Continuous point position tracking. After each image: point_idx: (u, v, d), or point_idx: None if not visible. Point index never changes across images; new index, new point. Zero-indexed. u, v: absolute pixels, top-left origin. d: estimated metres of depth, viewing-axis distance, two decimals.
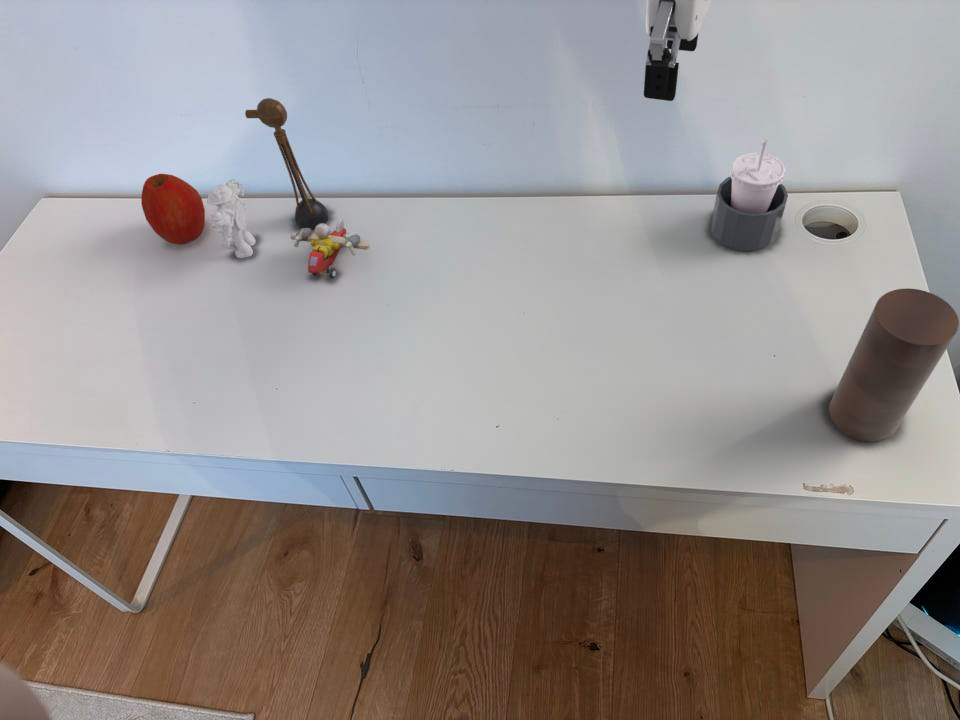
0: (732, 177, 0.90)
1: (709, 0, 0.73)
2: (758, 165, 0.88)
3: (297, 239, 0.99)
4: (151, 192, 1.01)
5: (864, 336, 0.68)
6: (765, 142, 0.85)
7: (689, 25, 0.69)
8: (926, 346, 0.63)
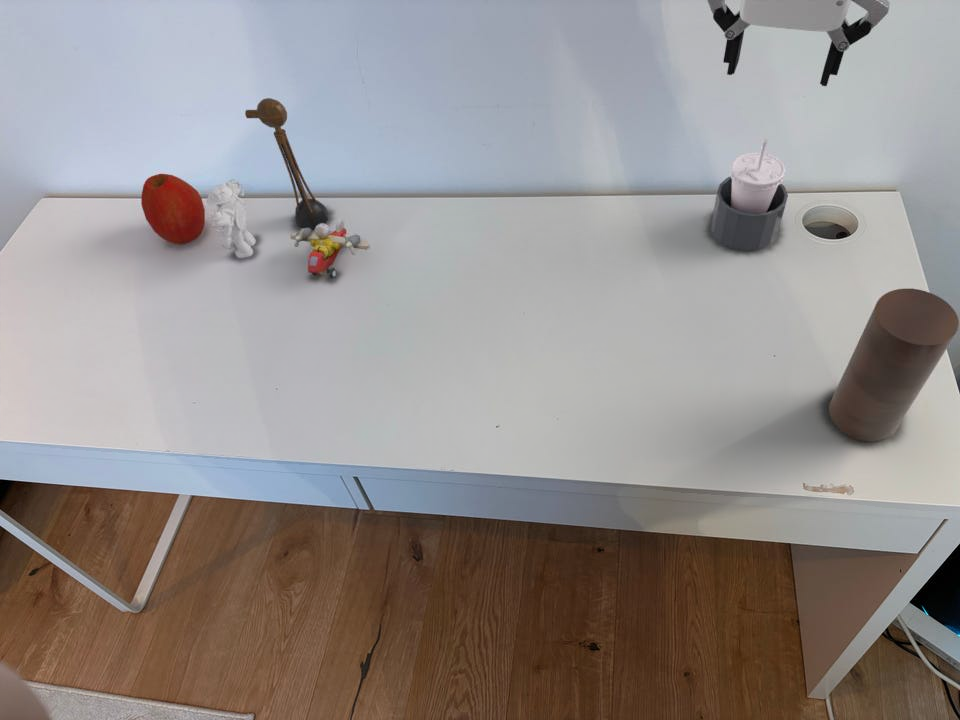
0: (732, 177, 0.90)
1: None
2: (758, 165, 0.88)
3: (297, 239, 0.99)
4: (151, 192, 1.01)
5: (864, 336, 0.68)
6: (765, 142, 0.85)
7: None
8: (926, 346, 0.63)
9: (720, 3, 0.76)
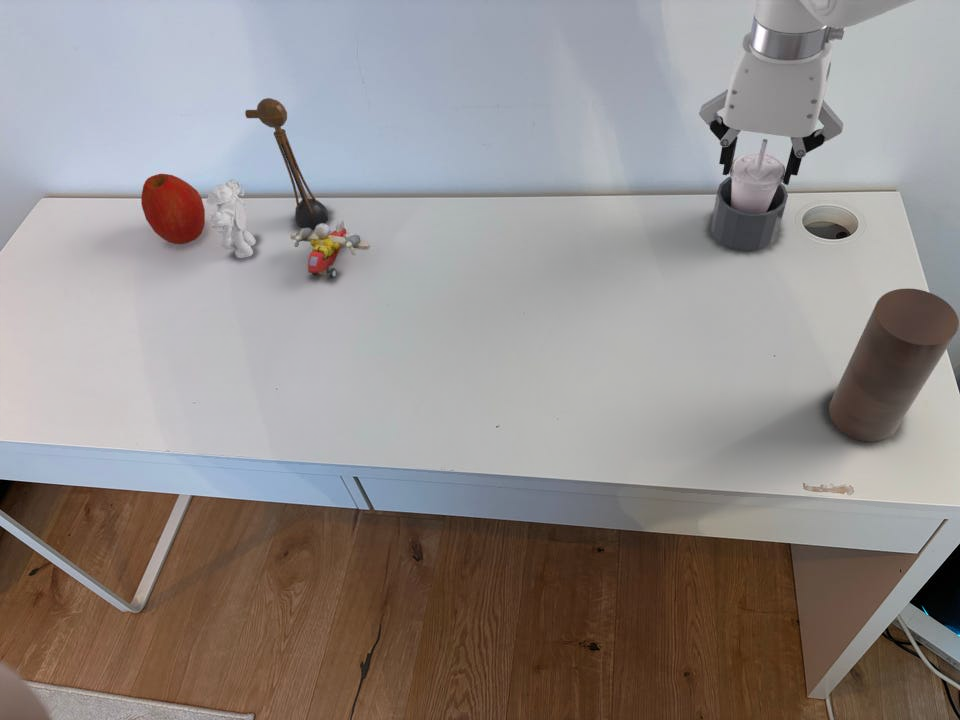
0: (732, 177, 0.90)
1: None
2: (758, 165, 0.88)
3: (297, 239, 0.99)
4: (151, 192, 1.01)
5: (864, 336, 0.68)
6: (765, 142, 0.85)
7: None
8: (926, 346, 0.63)
9: (713, 117, 0.86)
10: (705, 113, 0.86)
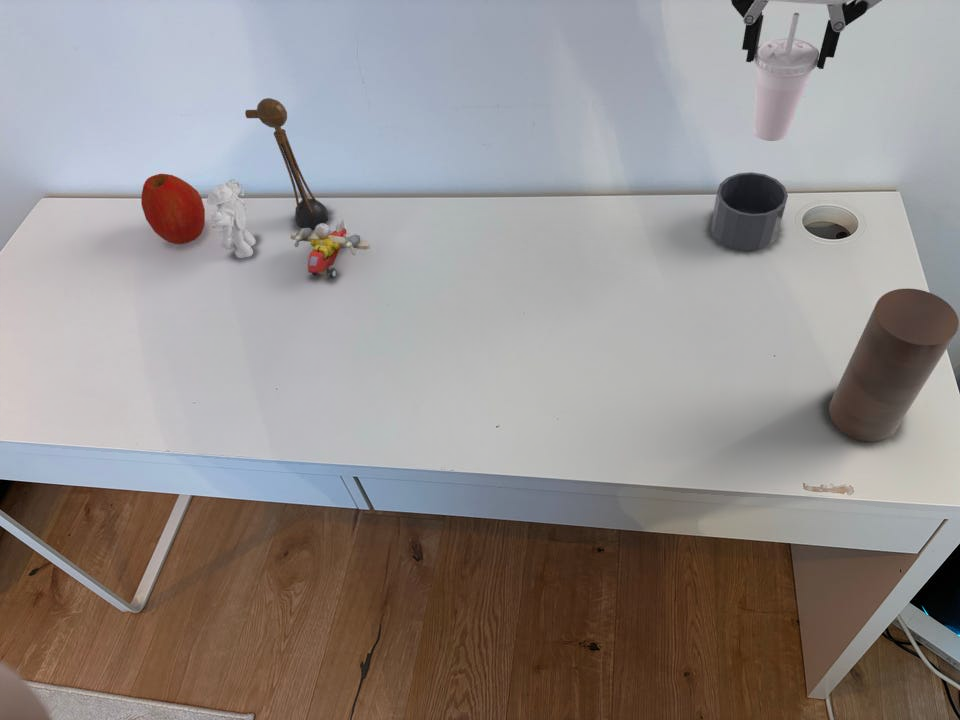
0: (757, 64, 0.77)
1: None
2: (788, 47, 0.76)
3: (297, 239, 0.99)
4: (151, 192, 1.01)
5: (864, 336, 0.68)
6: (797, 16, 0.73)
7: None
8: (926, 346, 0.63)
9: None
10: None
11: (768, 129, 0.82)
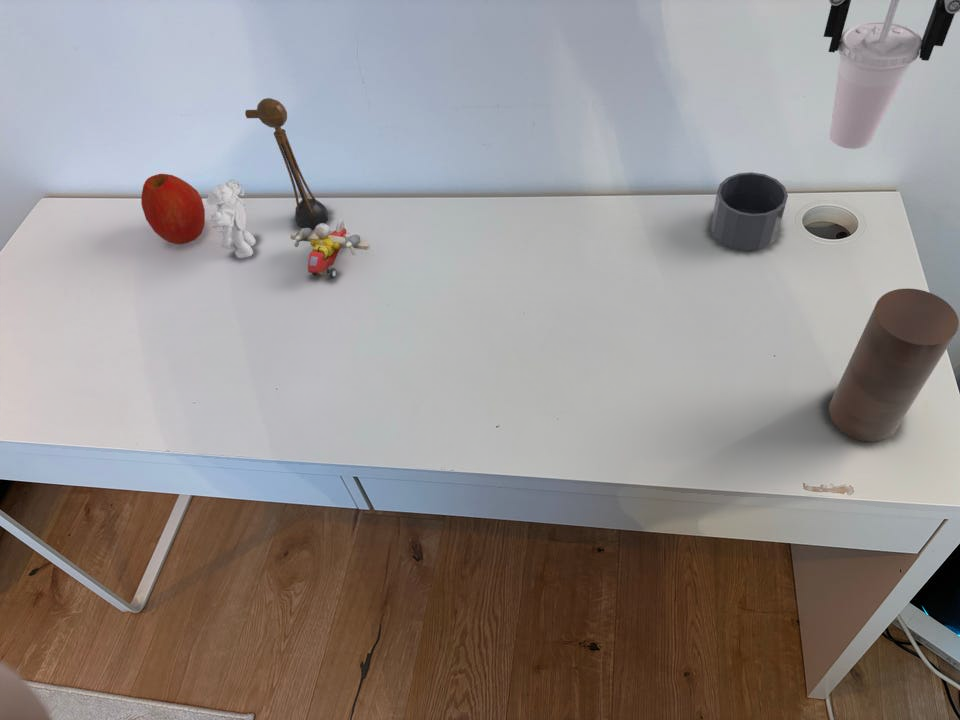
0: (843, 54, 0.62)
1: None
2: (883, 32, 0.61)
3: (297, 239, 0.99)
4: (151, 192, 1.01)
5: (864, 336, 0.68)
6: None
7: None
8: (926, 346, 0.63)
9: None
10: None
11: (851, 134, 0.67)
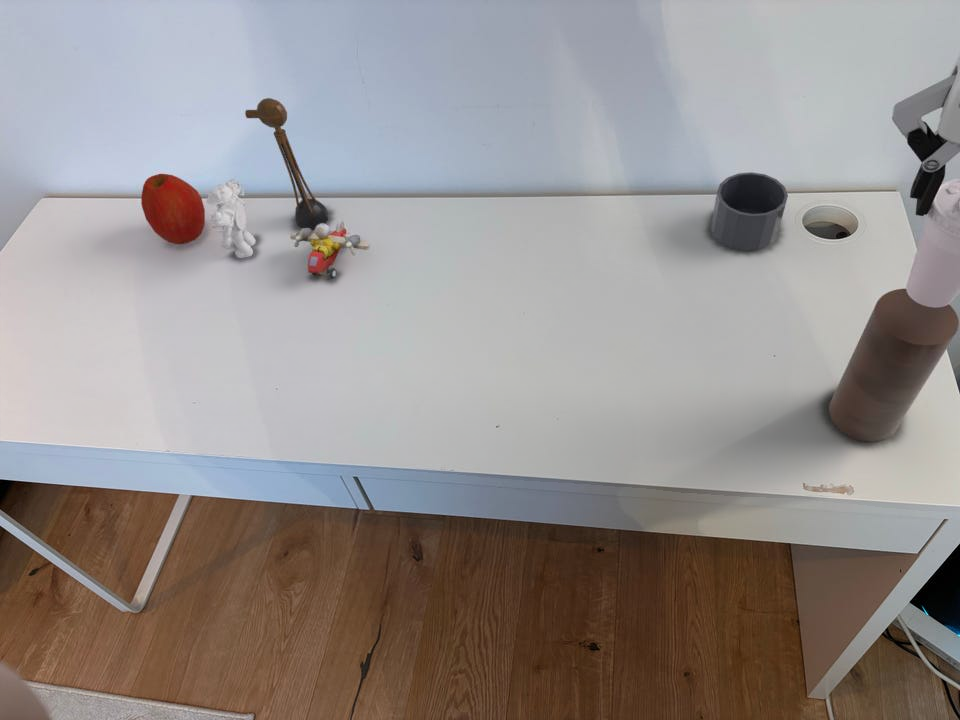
0: (933, 219, 0.56)
1: None
2: None
3: (297, 239, 0.99)
4: (151, 192, 1.01)
5: (864, 336, 0.68)
6: None
7: None
8: (926, 346, 0.63)
9: (916, 123, 0.52)
10: (903, 117, 0.52)
11: (933, 295, 0.60)
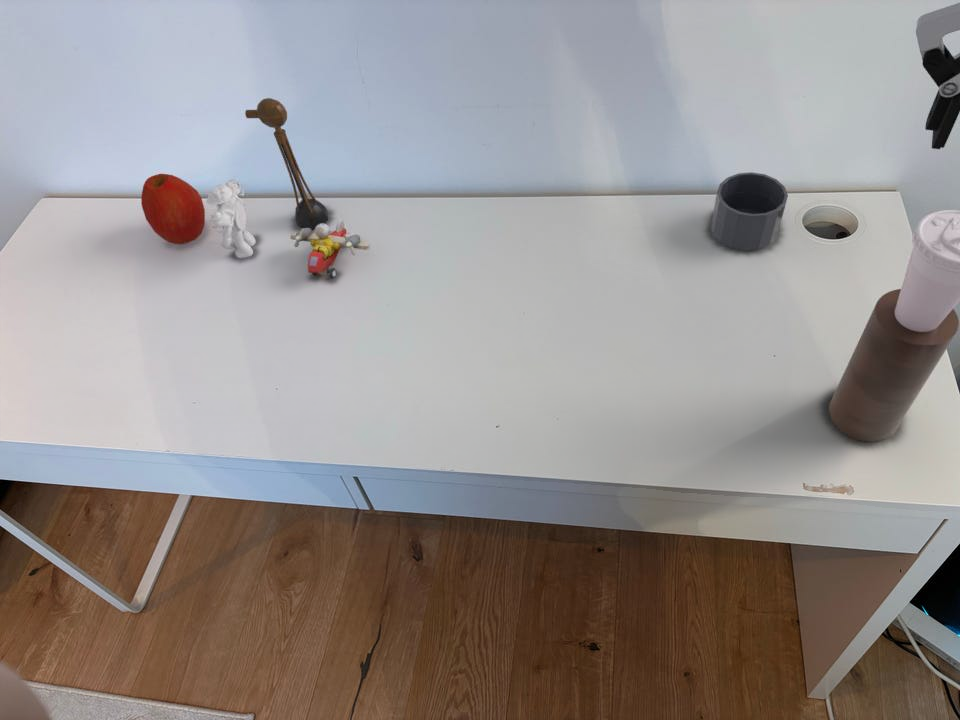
0: (919, 249, 0.58)
1: None
2: None
3: (297, 239, 0.99)
4: (151, 192, 1.01)
5: (864, 336, 0.68)
6: None
7: None
8: (926, 346, 0.63)
9: (939, 41, 0.47)
10: (928, 31, 0.47)
11: (920, 320, 0.63)
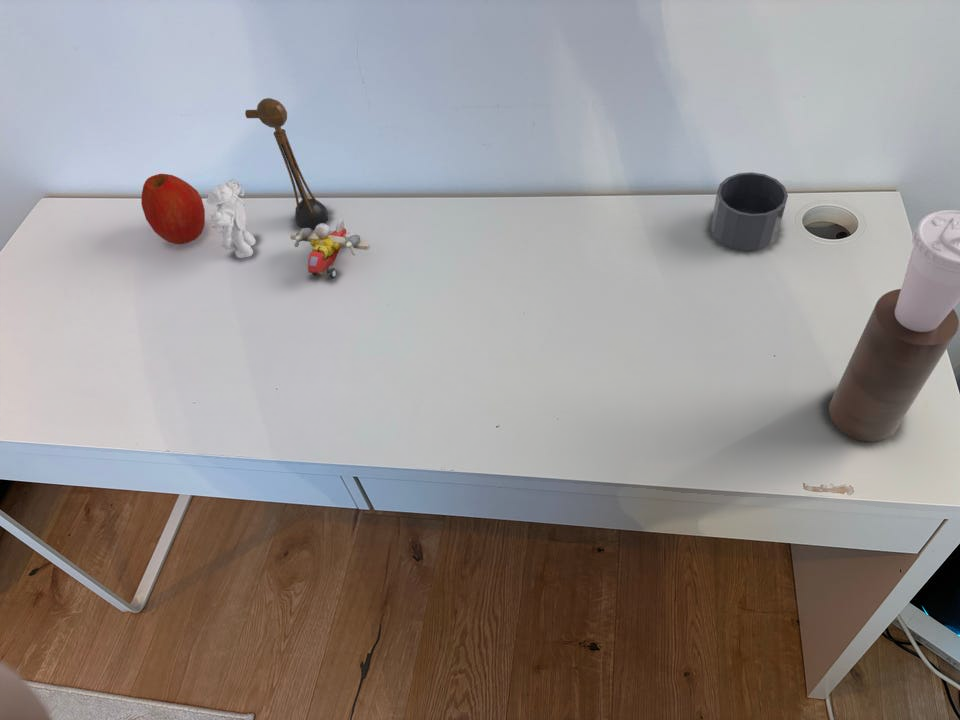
0: (919, 249, 0.58)
1: None
2: None
3: (297, 239, 0.99)
4: (151, 192, 1.01)
5: (864, 336, 0.68)
6: None
7: None
8: (926, 346, 0.63)
9: None
10: None
11: (920, 320, 0.63)
